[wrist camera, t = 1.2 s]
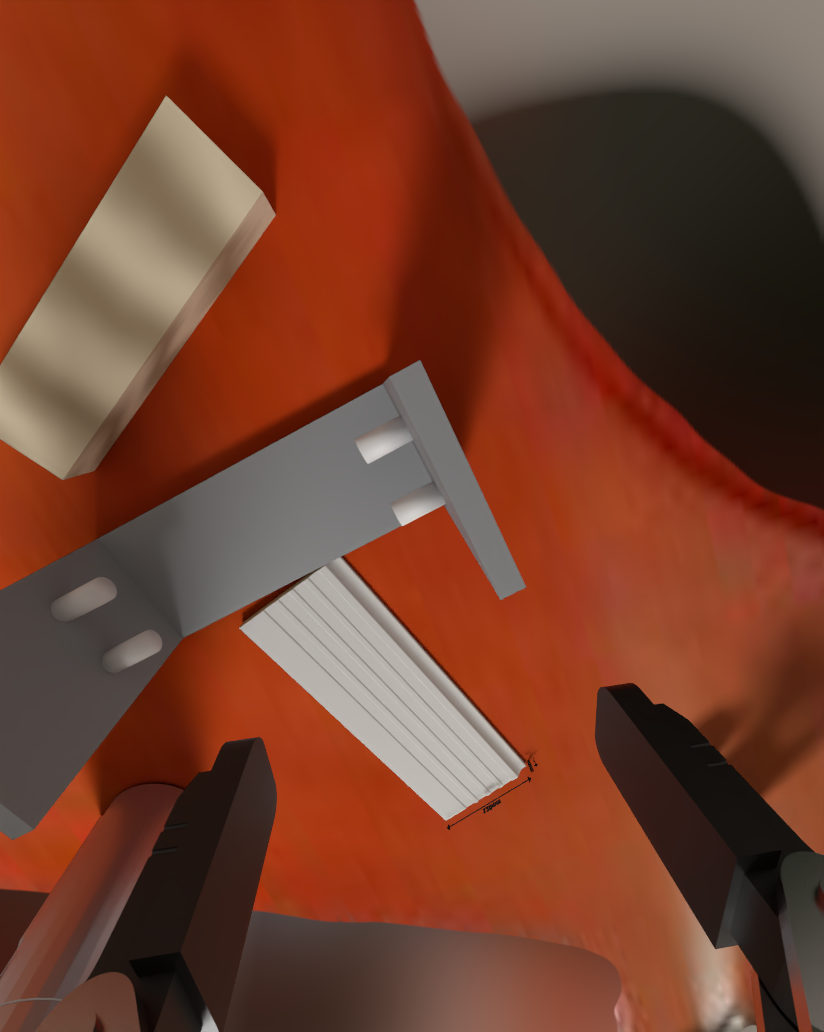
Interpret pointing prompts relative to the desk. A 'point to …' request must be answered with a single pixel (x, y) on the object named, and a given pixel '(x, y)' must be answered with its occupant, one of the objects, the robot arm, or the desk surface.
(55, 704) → the shelf frame
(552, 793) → the desk surface
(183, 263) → the shelf board
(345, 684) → the baseboard
